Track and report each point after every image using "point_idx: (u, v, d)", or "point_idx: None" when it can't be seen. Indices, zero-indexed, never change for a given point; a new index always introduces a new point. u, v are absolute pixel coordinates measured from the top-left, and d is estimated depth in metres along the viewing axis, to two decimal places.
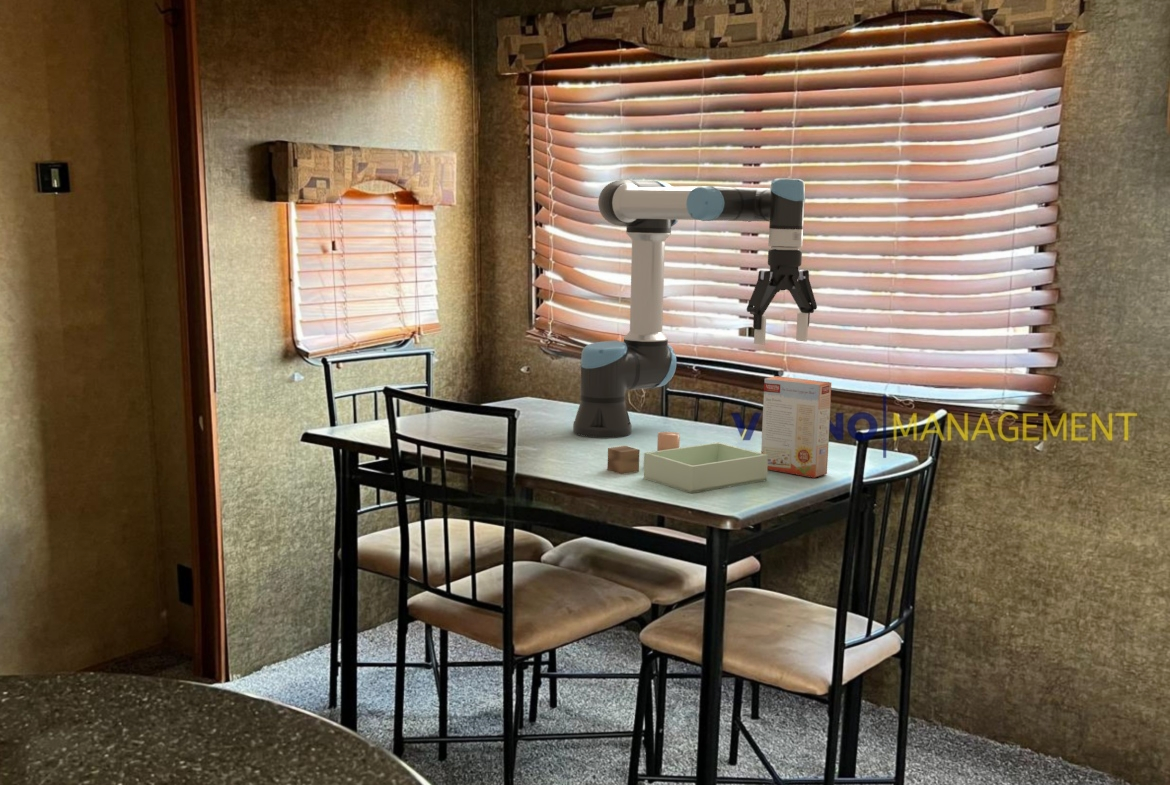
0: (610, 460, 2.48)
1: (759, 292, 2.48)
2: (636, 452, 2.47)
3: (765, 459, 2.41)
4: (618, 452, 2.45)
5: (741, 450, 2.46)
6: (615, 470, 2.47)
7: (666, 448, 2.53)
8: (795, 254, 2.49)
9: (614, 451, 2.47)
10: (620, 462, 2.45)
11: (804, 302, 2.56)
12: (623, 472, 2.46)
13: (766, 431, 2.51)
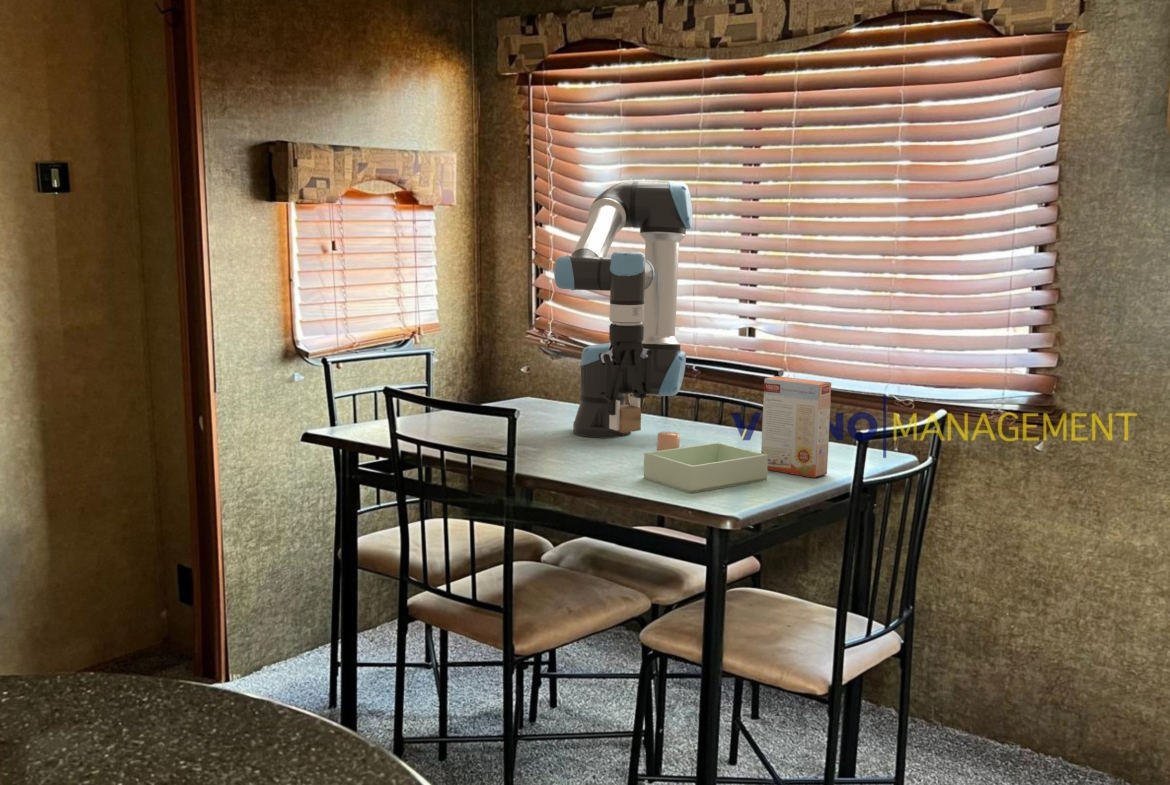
0: None
1: (605, 377, 2.41)
2: (638, 410, 2.46)
3: (765, 459, 2.41)
4: None
5: (741, 450, 2.46)
6: None
7: (666, 448, 2.53)
8: (635, 330, 2.40)
9: None
10: (621, 420, 2.44)
11: (638, 383, 2.47)
12: (624, 431, 2.45)
13: (766, 431, 2.51)
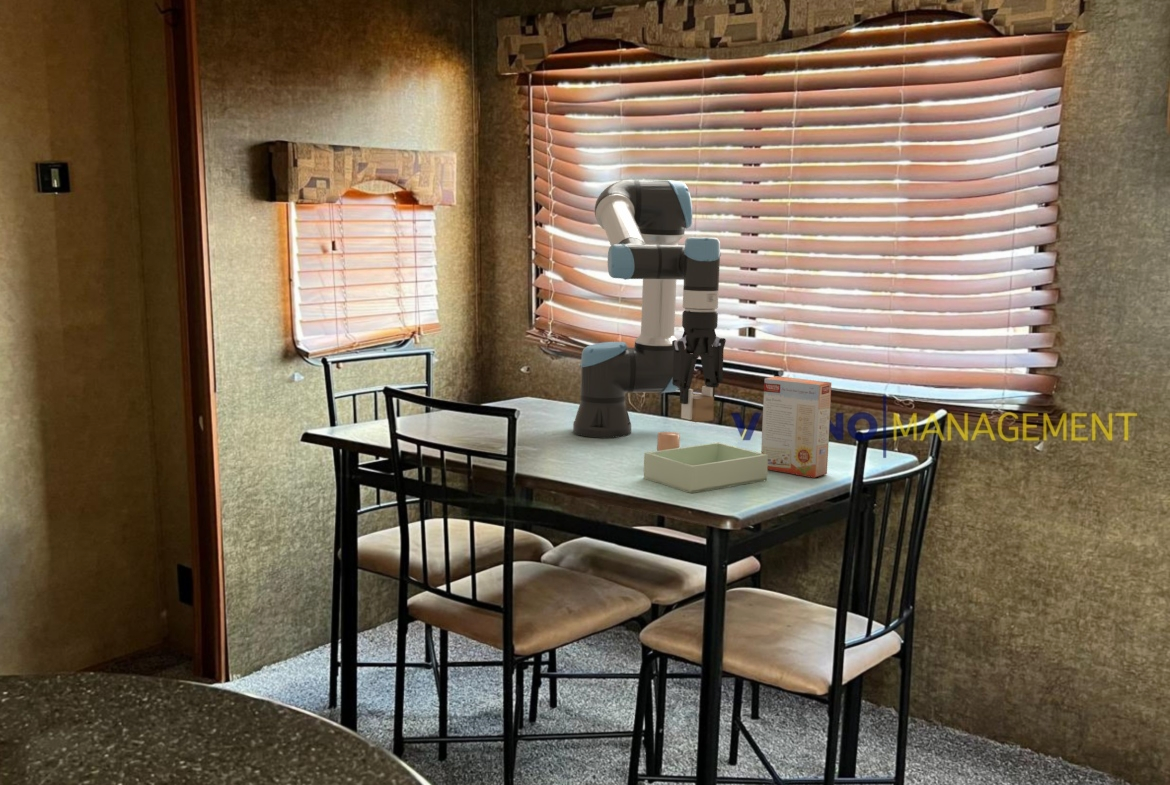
0: None
1: (678, 365, 2.37)
2: (710, 399, 2.41)
3: (765, 459, 2.41)
4: None
5: (741, 450, 2.46)
6: None
7: (666, 448, 2.53)
8: (710, 317, 2.36)
9: None
10: (694, 409, 2.39)
11: (711, 372, 2.42)
12: (697, 420, 2.39)
13: (766, 431, 2.51)
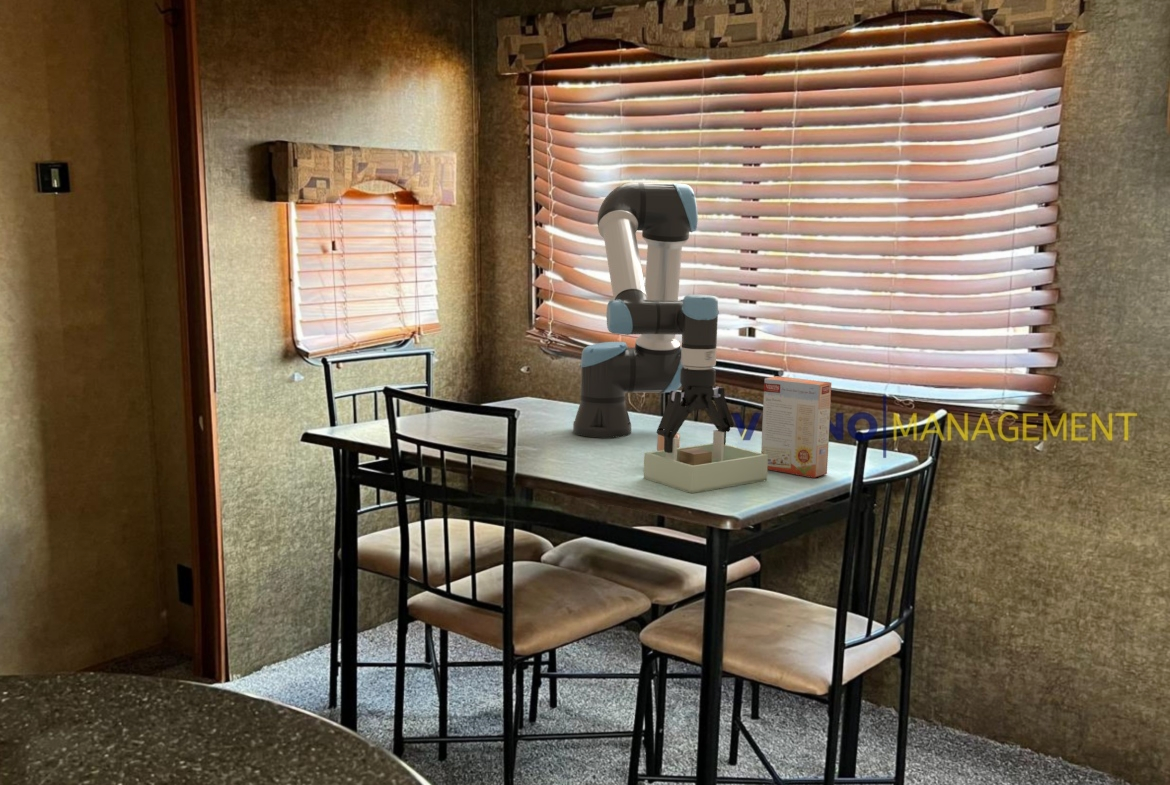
0: None
1: (669, 414, 2.37)
2: (708, 454, 2.43)
3: (765, 459, 2.41)
4: (690, 454, 2.41)
5: (741, 450, 2.46)
6: None
7: None
8: (708, 374, 2.38)
9: (686, 453, 2.42)
10: (693, 464, 2.41)
11: (719, 420, 2.45)
12: None
13: (766, 431, 2.51)
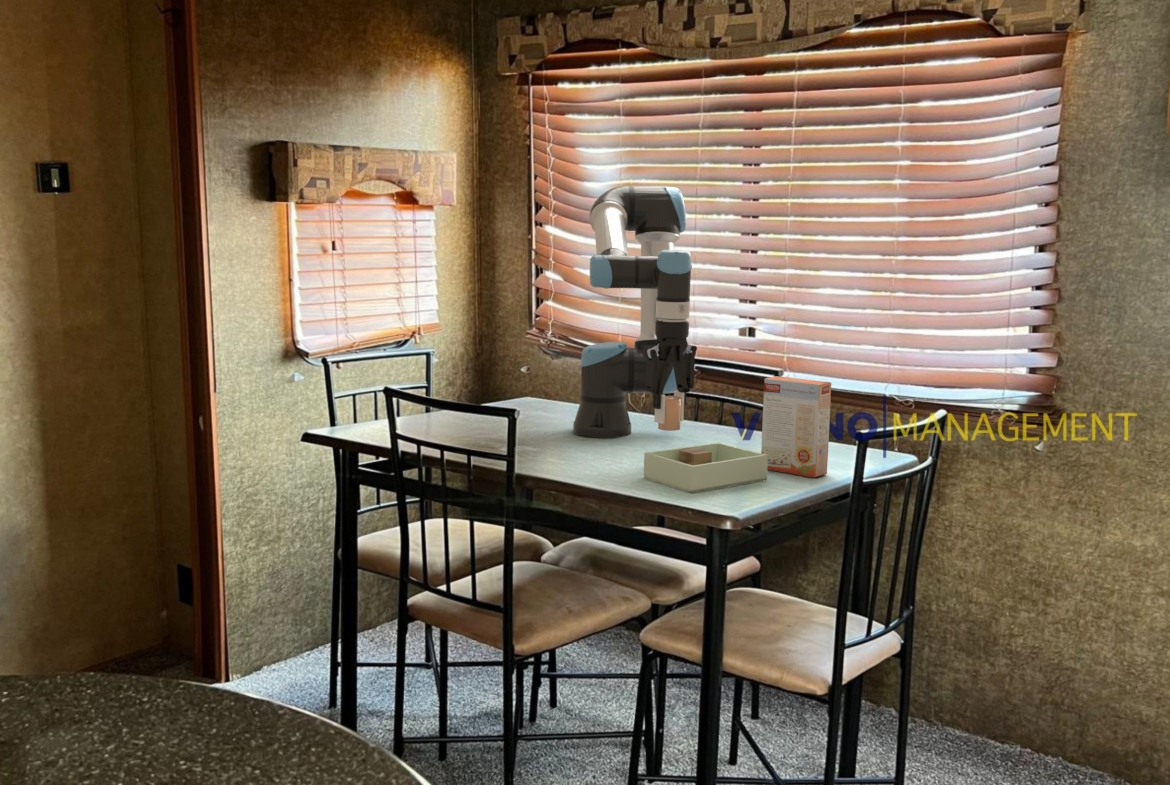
0: None
1: (651, 372, 2.49)
2: (708, 454, 2.43)
3: (765, 459, 2.41)
4: (690, 454, 2.41)
5: (741, 450, 2.46)
6: None
7: (667, 412, 2.52)
8: (681, 326, 2.48)
9: (686, 453, 2.42)
10: (693, 464, 2.41)
11: (683, 378, 2.54)
12: None
13: (766, 431, 2.51)
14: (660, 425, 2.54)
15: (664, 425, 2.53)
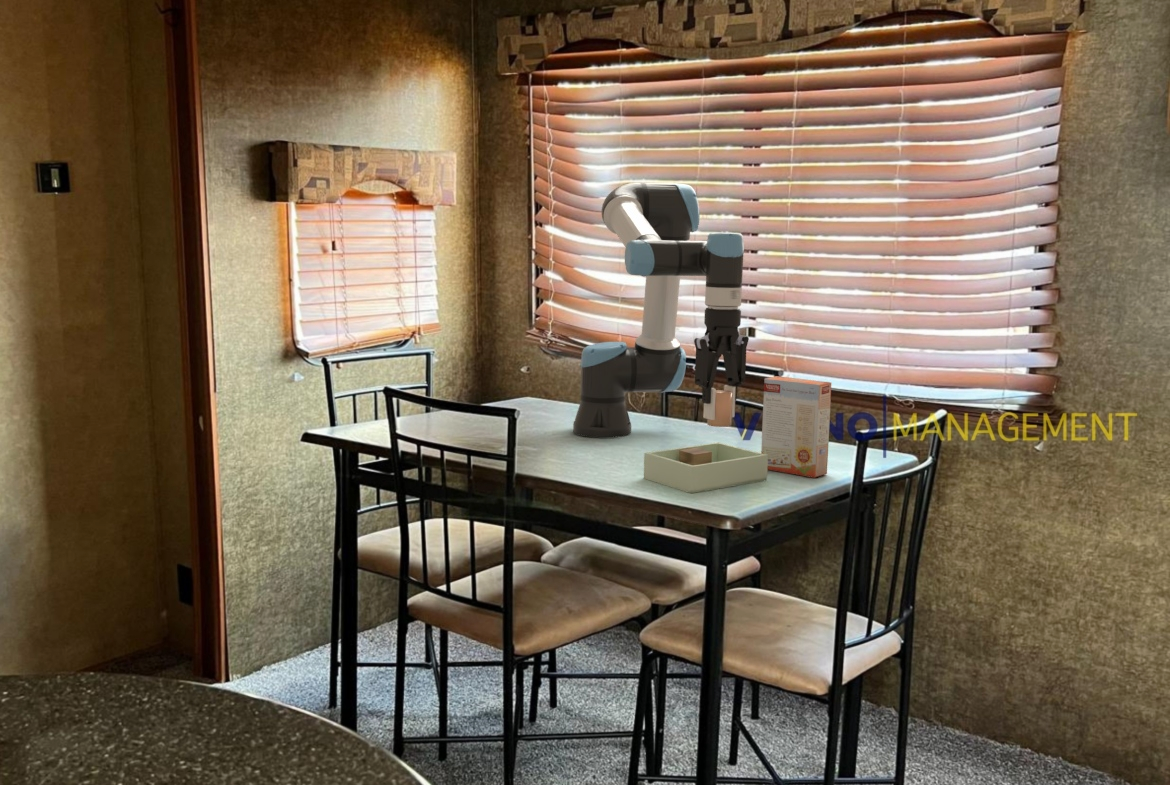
0: None
1: (701, 364, 2.31)
2: (708, 454, 2.43)
3: (765, 459, 2.41)
4: (690, 454, 2.41)
5: (741, 450, 2.46)
6: None
7: (718, 407, 2.34)
8: (733, 314, 2.30)
9: (686, 453, 2.42)
10: (693, 464, 2.41)
11: (734, 371, 2.36)
12: None
13: (766, 431, 2.51)
14: (710, 421, 2.35)
15: (714, 421, 2.34)
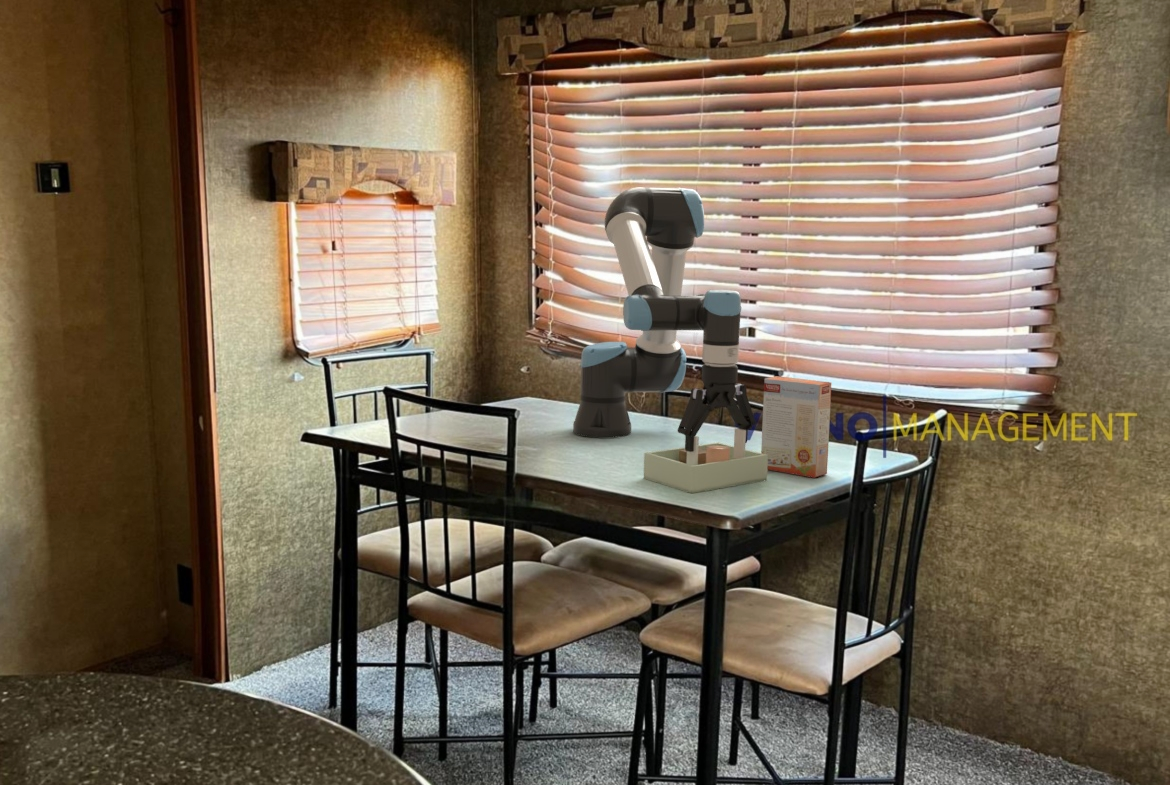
0: None
1: (690, 412, 2.32)
2: None
3: (765, 459, 2.41)
4: None
5: None
6: None
7: None
8: (730, 371, 2.32)
9: (686, 453, 2.42)
10: None
11: (741, 418, 2.40)
12: None
13: (766, 431, 2.51)
14: None
15: None
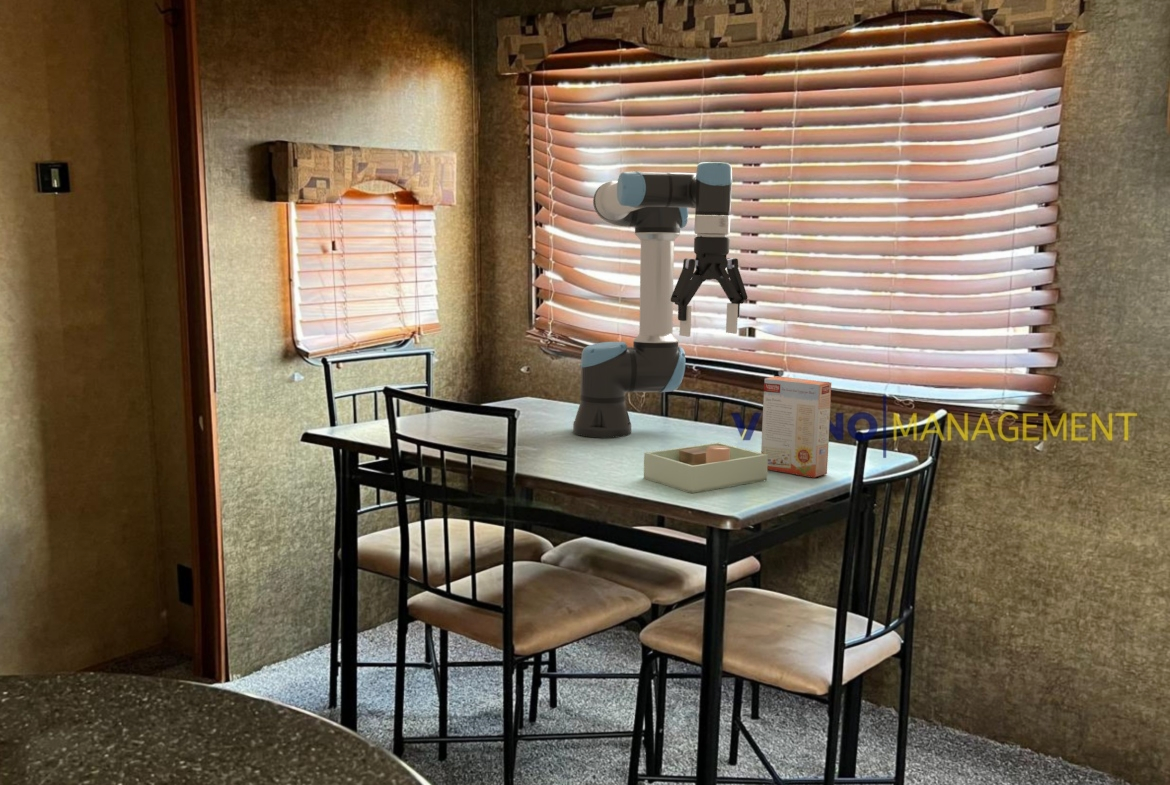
0: None
1: (683, 281, 2.36)
2: None
3: (765, 459, 2.41)
4: (690, 454, 2.41)
5: (741, 450, 2.46)
6: None
7: None
8: (722, 241, 2.37)
9: (686, 453, 2.42)
10: (693, 464, 2.41)
11: (733, 292, 2.44)
12: None
13: (766, 431, 2.51)
14: None
15: None
